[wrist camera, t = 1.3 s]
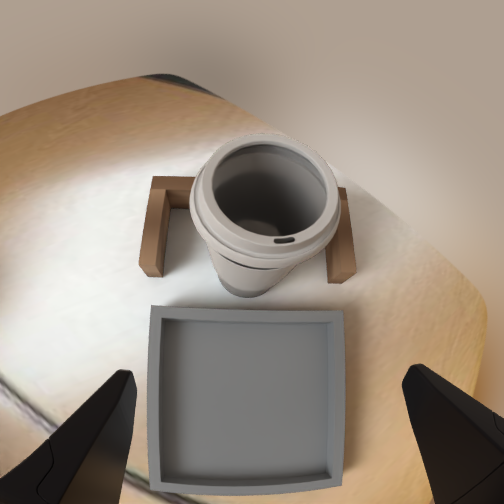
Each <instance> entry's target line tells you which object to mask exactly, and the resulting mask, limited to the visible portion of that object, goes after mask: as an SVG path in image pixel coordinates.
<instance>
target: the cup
mask: <svg viewBox="0 0 504 504" xmlns="http://www.w3.org/2000/svg"><path fill="white" fill-rule="evenodd" d="M190 212H191V216H192V220H193V222H194V225H195V227H196V229H197V231H198V232H199V234H200V235H201V236H202V238H203V239H204V240H205V241H206V243H207V247H208V250H209V253H210V257H211V260H212V263H213V266H214V268H215V270H216V272H217V273H218V277H219V280H220V282H221V283H222V285H223V286H224V288H225V289H226V290H228V291H229V292H230V293H232V294H234V295H236V296H239V297H243V298H252V297H257V296H259V295H262V294H263V293H265V292H266V291H267V290H268V289H269V288H270V287H272V286H274V285H275V284H277V283H278V282H279V281H281V280H282V279H283V278H284V277H285V276H286V275H287V274H288V273H289V272H290V271H291V270H292V269H293V268H294V267H295V266H296V265H297V264H299V263H301V262H304V261H306V260H308V259H310V258H312V257H313V256H315V255H316V254H318V253H319V252H320V251H321V250H323V249H324V248H325V247H326V245H327V244H328V243H329V242H330V241H331V239H332V238H333V236H334V234H335V232H336V230H337V227H338V224H339V220H340V214H341V201H340V196H339V191H338V187H337V183H336V179H335V177H334V175H333V172H332V170H331V169H330V167H329V166H328V164H327V163H326V162H325V160H324V159H323V158H322V157H321V156H320V155H319V154H318V153H317V152H315V151H314V150H313V149H311V148H310V147H308V146H307V145H305V144H303V143H301V142H299V141H297V140H295V139H292V138H289V137H286V136H282V135H277V134H265V133H259V134H250V135H246V136H242V137H239V138H236V139H234V140H232V141H230V142H228V143H226V144H225V145H223V146H222V147H220V148H219V149H218V150H217V151H216V152H215V153H214V154H213V155H212V156H211V157H210V159H209V160H208V161H207V162H206V163H205V164H204V166H203V167H202V168H201V169H200V171H199V172H198V174H197V176H196V178H195V180H194V183H193V185H192V188H191V193H190Z"/></svg>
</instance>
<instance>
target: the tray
mask: <svg viewBox="0 0 504 504" xmlns="http://www.w3.org/2000/svg"><path fill="white" fill-rule="evenodd" d="M344 439H345V339H344V316H343V310H341V311H273V310H232V309H207V308H186V307H169V306H154V305H151V313H150V328H149V346H148V372H147V440H148V464H149V481H150V490H156V491H163V492H172V493H183V494H196V495H220V496H246V495H270V494H283V493H294V492H303V491H311V490H318V489H325V488H331V487H337V486H342V476H343V460H344Z"/></svg>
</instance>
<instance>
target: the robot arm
mask: <svg viewBox="0 0 504 504" xmlns="http://www.w3.org/2000/svg"><path fill="white" fill-rule="evenodd" d="M402 389H403V393H404V397H405V401H406V406H407V410H408V414H409V418H410V422H411V425H412V429H413V432H414V435H415V438H416V441H417V444H418V447H419V450H420V453H421V456H422V459H423V463H424V466H425V469H426V473H427V476H428V480H429V483H430V487H431V490H432V494H433V498H434V502H435V504H504V418H502V417H501V416H499V415H498V414H496V413H495V412H492V410H490V409H488V408H487V407H485V406H484V405H483V404H481V403H480V402H478V401H477V400H475V399H474V398H472V397H471V396H469V395H468V394H466V393H465V392H463V391H462V390H460V389H459V388H457V387H456V386H454V385H453V384H451V383H450V382H448V381H447V380H446V379H444V378H443V377H441V376H440V375H438V374H437V373H435V372H434V371H432V370H431V369H429V368H428V367H426V366H425V365H423V364H414V365H411V366H410V368H409V369H408V371H407V373H406V375H405V377H404V379H403V381H402ZM136 398H137V387H136V383H135V380H134V376H133V373H132V371H130V370H123V369H119V370H117V371H116V372H115V373H114V374H113V375H112V376H111V377H110V378H109V379H108V380H107V381H106V382H105V383H104V384H103V385H102V386H101V387H100V388H99V389H98V390H97V391H96V392H95V393H94V394H93V395H92V396H91V397H90V398H89V399H88V400H86V401H85V402H84V403H83V404H82V405H81V406H80V407H79V408H78V409H77V410H76V411H75V412H74V413H73V414H72V415H71V416H70V417H69V418H68V419H67V420H66V421H65V422H64V423H63V424H62V425H61V426H60V427H59V428H58V429H57V430H56V431H55V432H54V433H53V434H52V435H51V436H50V437H49V439H47V440H46V441H45V442H44V443H43V444H42V445H41V446H40V447H38V448H37V449H36V450H35V451H34V452H33V453H32V454H31V455H30V456H29V457H27V458H26V459H25V460H24V461H22V462H21V463H20V464H19V465H17V466H16V467H15V468H13V469H12V470H11V471H10V472H8V473H7V474H6V475H4V476H3V477H2V478H0V504H119V499H120V494H121V489H122V483H123V478H124V473H125V468H126V464H127V459H128V454H129V450H130V445H131V440H132V434H133V425H134V416H135V407H136Z"/></svg>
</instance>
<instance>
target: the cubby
mask: <svg viewBox="0 0 504 504" xmlns="http://www.w3.org/2000/svg"><path fill="white" fill-rule="evenodd" d="M195 178H196V177H178V176H153V179H152V184H151V189H150V194H149V200H148V205H147V211H146V217H145V223H144V229H143V236H142V243H141V250H140V257H139V266H140V267H141V268H142V270H143V271H144V272H145V274H146V275H147V276H148V277H163V268H164V258H165V249H166V240H167V232H168V224H169V216H170V209H171V208H179V209H190V193H191V188H192V185H193V183H194V180H195ZM338 191H339V196H340V201H341V214H340V220H339V224H338V227H337V230H336V232H335V234H334V236H333V238H332V239H331V241H330V242H329V243H328V244H327V245H326V247H325V250H326V263H327V277H328V283H339V284H342V283H343V282H344V281H346V280H347V279H349V278H350V277H351V276H353V275H354V274H355V273H356V263H355V254H354V245H353V237H352V229H351V222H350V215H349V208H348V201H347V195H346V188H341V187H338Z"/></svg>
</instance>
